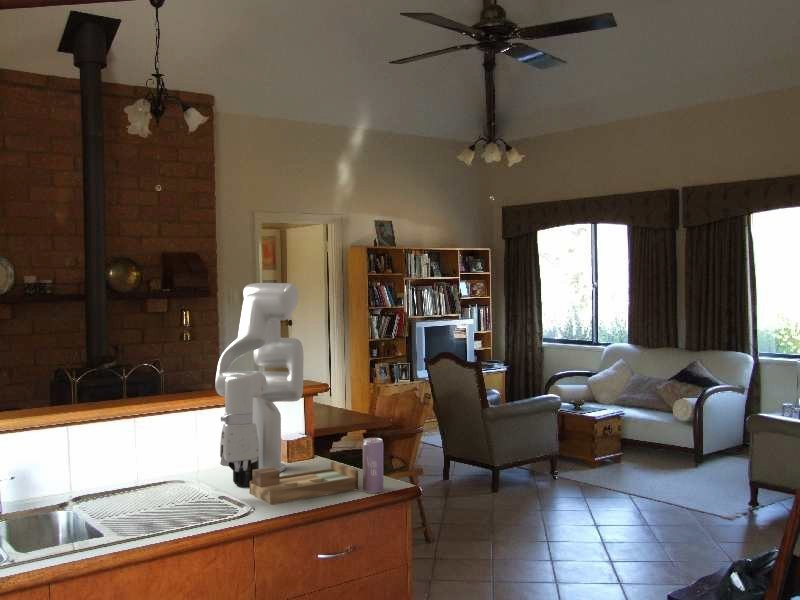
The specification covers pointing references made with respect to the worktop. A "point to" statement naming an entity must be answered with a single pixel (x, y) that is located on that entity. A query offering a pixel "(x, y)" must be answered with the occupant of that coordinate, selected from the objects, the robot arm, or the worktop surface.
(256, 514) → the worktop surface
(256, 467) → the supplement bottle
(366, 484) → the beverage can
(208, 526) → the worktop surface
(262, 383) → the robot arm
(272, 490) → the trap trough
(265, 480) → the walnut block
